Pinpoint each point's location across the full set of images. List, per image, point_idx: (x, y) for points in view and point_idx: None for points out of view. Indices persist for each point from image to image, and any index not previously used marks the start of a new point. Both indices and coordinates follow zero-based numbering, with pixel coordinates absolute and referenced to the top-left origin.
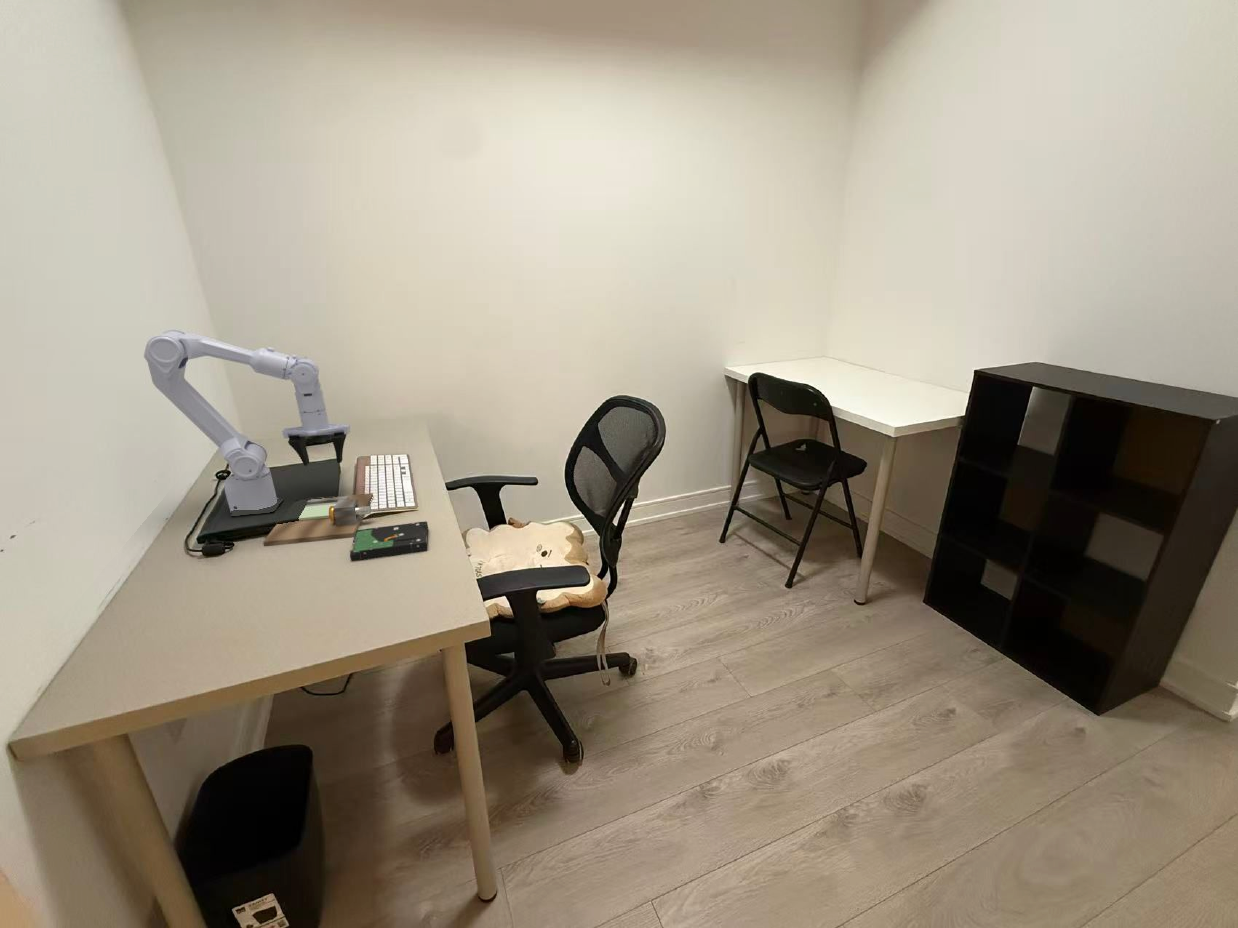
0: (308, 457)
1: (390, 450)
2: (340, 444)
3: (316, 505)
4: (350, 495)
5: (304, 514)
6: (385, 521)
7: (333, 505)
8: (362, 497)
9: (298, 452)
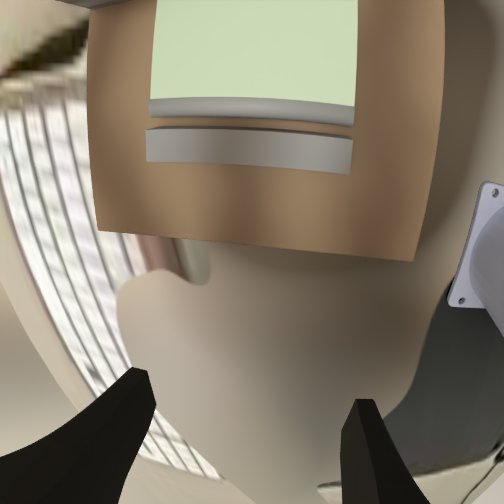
0: (341, 462)
1: (185, 480)
2: (17, 450)
3: (296, 101)
4: (176, 233)
5: (337, 19)
6: (39, 4)
7: (205, 80)
8: (121, 195)
9: (406, 489)
